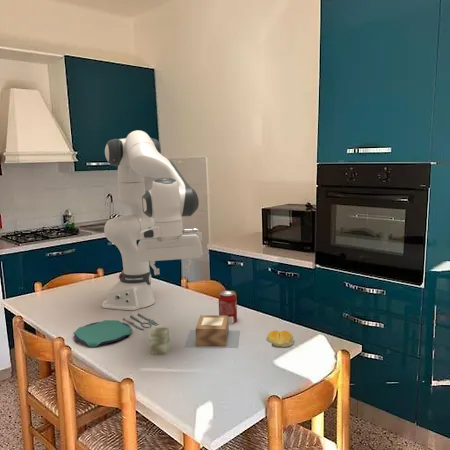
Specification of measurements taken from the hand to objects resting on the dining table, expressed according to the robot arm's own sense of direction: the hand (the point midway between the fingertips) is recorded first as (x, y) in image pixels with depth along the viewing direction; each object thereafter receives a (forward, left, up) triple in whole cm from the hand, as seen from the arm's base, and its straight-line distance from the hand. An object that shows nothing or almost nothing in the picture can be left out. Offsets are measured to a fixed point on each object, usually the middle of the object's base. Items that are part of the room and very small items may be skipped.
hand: (172, 273), depth 137 cm
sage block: (-5, -1, -27) cm, 27 cm away
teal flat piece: (-26, +17, -28) cm, 41 cm away
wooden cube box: (+11, +9, -26) cm, 30 cm away
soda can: (+15, +25, -27) cm, 40 cm away
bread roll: (+34, +9, -27) cm, 45 cm away
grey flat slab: (+11, +9, -27) cm, 30 cm away
